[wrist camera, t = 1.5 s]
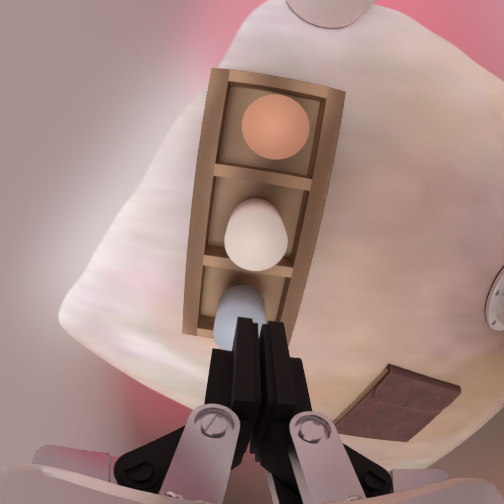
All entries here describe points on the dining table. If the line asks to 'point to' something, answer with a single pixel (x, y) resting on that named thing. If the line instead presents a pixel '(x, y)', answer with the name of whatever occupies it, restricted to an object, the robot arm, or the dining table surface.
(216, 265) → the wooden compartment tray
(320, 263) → the dining table surface
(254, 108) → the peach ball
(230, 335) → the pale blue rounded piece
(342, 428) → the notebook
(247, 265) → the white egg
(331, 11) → the milk bottle
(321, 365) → the dining table surface
